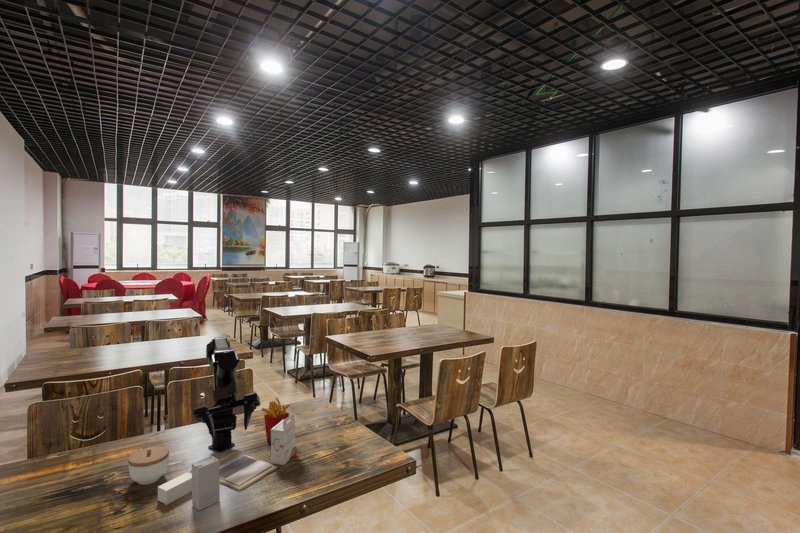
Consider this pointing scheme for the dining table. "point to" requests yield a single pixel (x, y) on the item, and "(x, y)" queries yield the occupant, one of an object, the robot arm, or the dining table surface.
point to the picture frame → (242, 470)
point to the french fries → (274, 416)
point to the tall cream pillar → (175, 488)
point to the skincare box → (205, 482)
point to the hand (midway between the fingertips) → (229, 434)
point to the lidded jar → (148, 464)
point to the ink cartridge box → (283, 441)
